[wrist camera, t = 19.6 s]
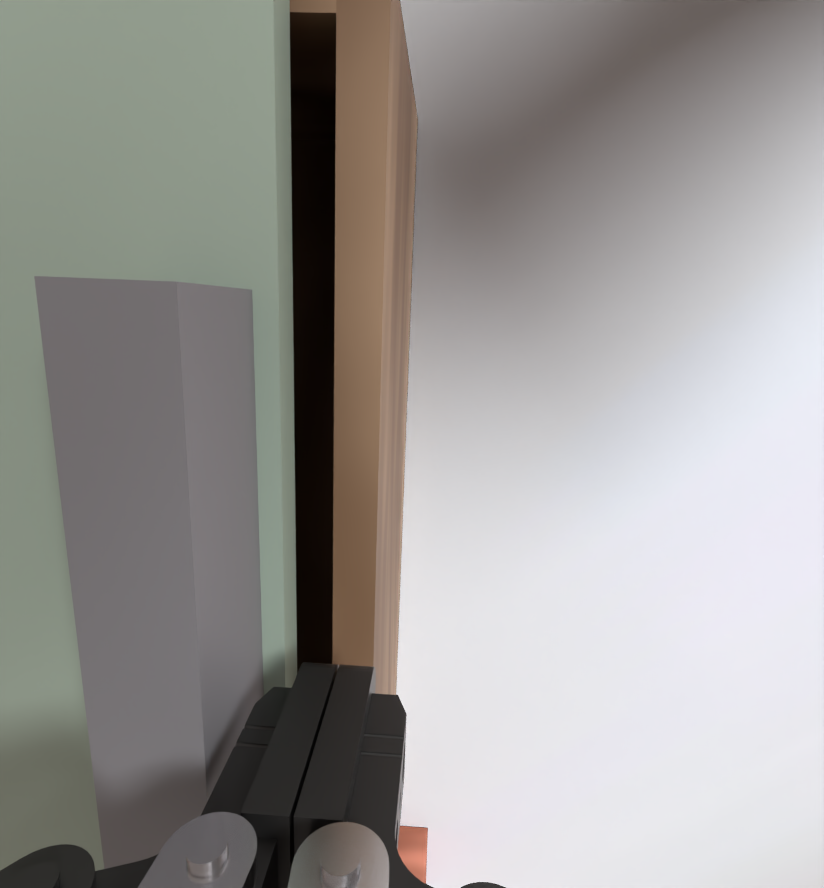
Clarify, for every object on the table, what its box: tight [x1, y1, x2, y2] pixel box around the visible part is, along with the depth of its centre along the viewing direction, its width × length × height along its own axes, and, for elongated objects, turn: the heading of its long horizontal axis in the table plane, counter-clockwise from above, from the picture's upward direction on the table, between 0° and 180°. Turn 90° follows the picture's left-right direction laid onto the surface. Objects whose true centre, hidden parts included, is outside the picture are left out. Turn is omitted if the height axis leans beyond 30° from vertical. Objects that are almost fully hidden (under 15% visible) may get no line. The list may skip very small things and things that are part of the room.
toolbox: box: [289, 0, 418, 695], centre depth 18 cm, size 20×28×9 cm
